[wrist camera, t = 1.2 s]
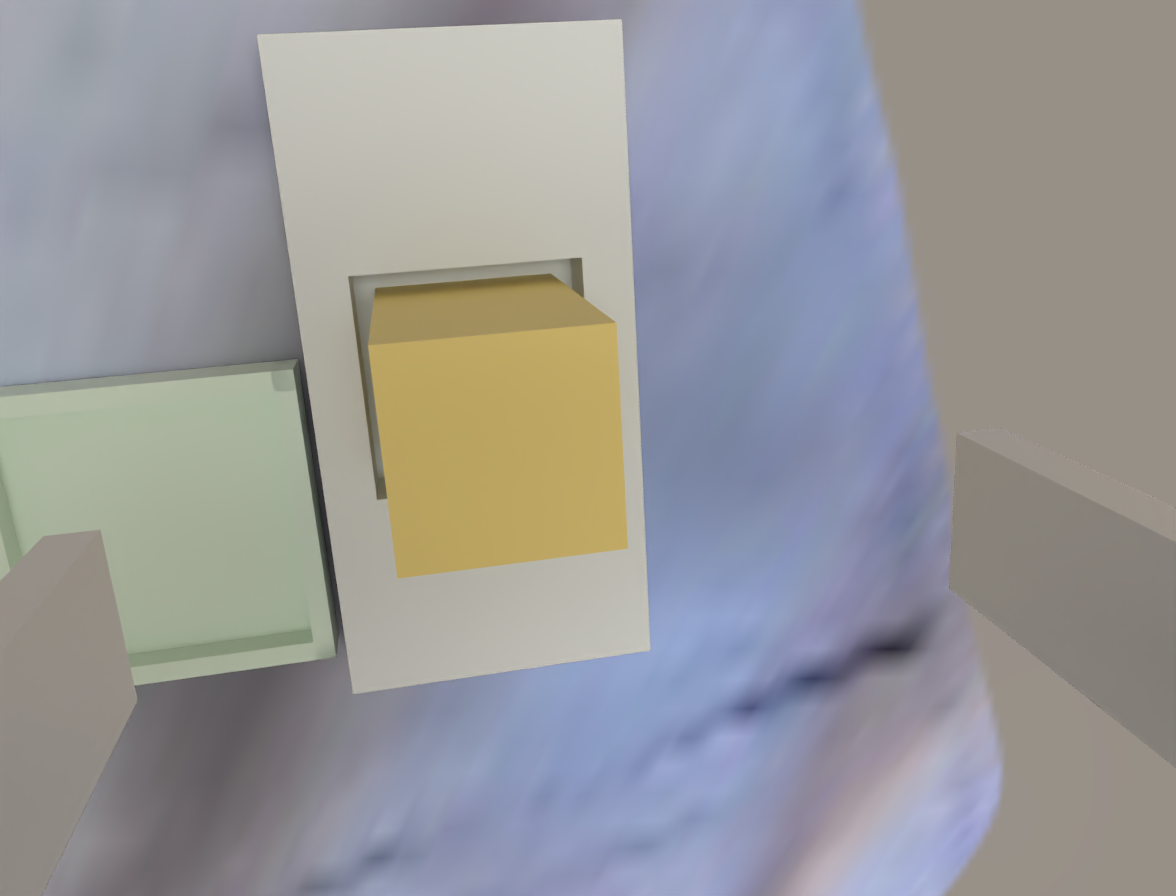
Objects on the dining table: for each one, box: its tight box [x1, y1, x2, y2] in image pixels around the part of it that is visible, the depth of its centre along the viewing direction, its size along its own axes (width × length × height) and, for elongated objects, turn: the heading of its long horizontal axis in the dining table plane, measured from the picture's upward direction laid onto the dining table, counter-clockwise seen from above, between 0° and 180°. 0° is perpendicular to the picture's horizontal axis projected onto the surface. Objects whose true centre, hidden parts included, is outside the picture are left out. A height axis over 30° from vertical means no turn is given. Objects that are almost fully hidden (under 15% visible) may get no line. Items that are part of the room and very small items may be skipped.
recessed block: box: [257, 19, 651, 694], centre depth 29 cm, size 9×18×3 cm, turn 3°
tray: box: [0, 359, 339, 686], centre depth 29 cm, size 9×9×2 cm
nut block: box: [368, 273, 628, 579], centre depth 25 cm, size 5×5×9 cm
